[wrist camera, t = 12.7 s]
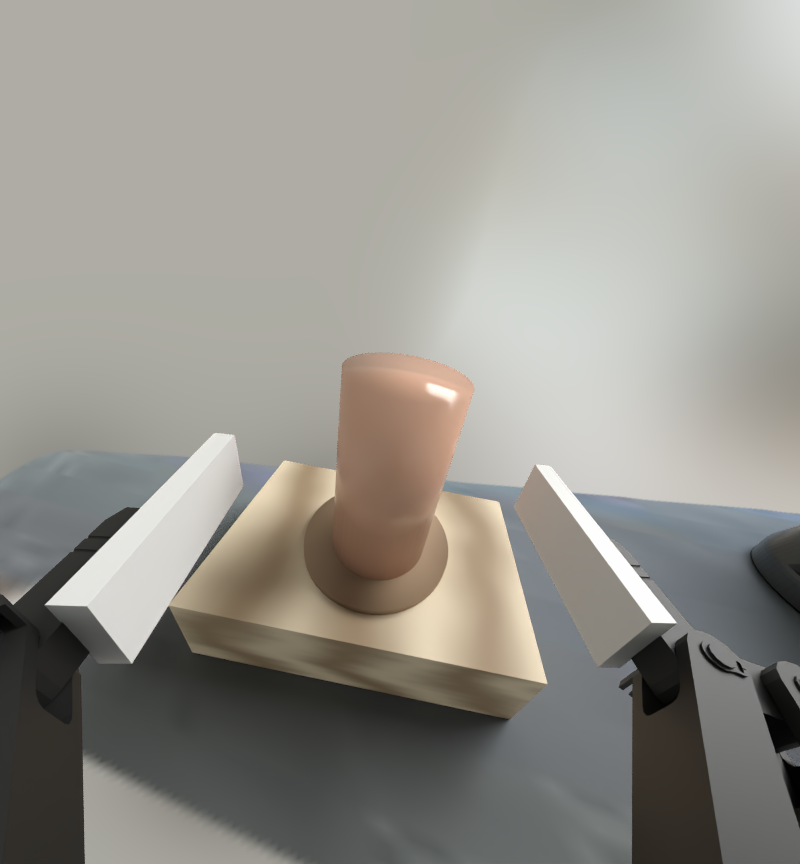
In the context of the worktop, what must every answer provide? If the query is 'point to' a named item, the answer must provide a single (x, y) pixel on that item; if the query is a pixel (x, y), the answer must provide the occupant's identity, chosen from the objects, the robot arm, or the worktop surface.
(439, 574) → the plinth
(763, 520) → the worktop surface
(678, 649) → the robot arm
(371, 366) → the slanted peach cylinder
